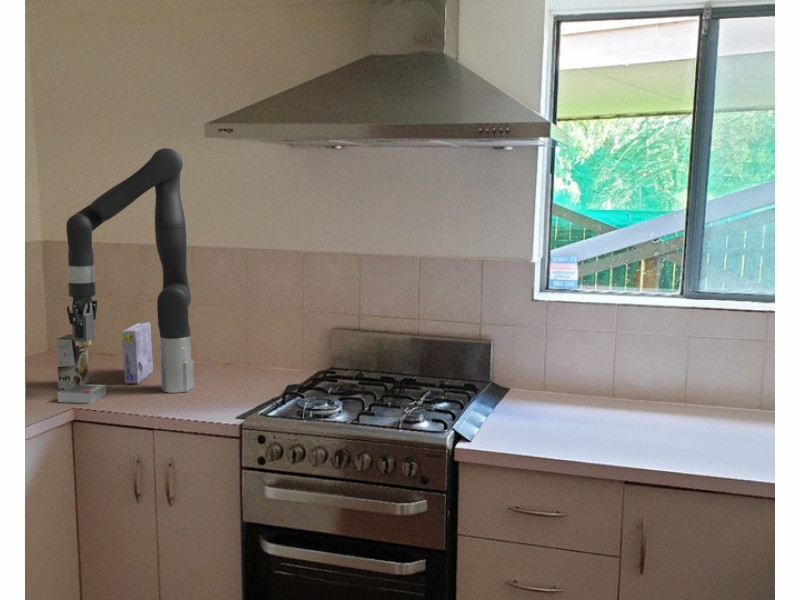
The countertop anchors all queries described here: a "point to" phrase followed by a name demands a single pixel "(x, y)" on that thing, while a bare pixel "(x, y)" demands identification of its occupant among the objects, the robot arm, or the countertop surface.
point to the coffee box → (71, 362)
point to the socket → (81, 393)
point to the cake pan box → (137, 352)
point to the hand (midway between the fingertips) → (83, 336)
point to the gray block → (85, 330)
